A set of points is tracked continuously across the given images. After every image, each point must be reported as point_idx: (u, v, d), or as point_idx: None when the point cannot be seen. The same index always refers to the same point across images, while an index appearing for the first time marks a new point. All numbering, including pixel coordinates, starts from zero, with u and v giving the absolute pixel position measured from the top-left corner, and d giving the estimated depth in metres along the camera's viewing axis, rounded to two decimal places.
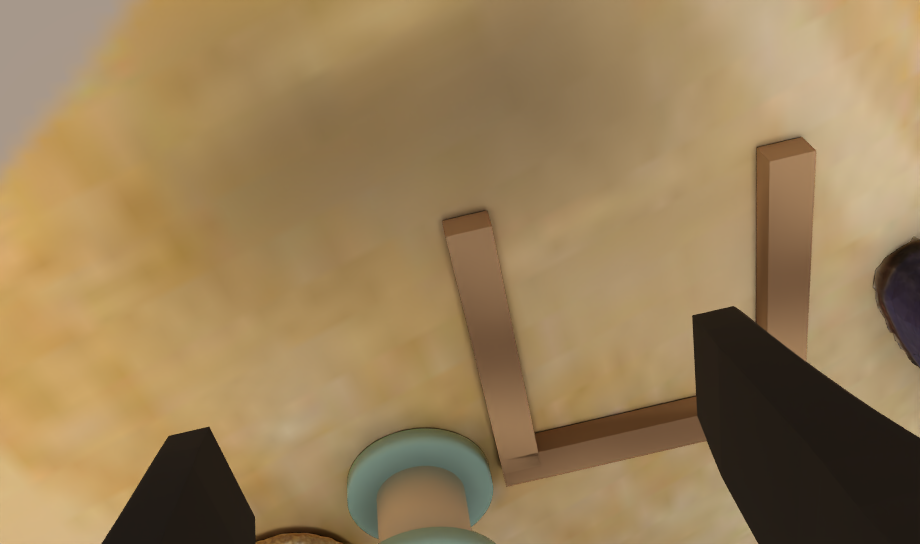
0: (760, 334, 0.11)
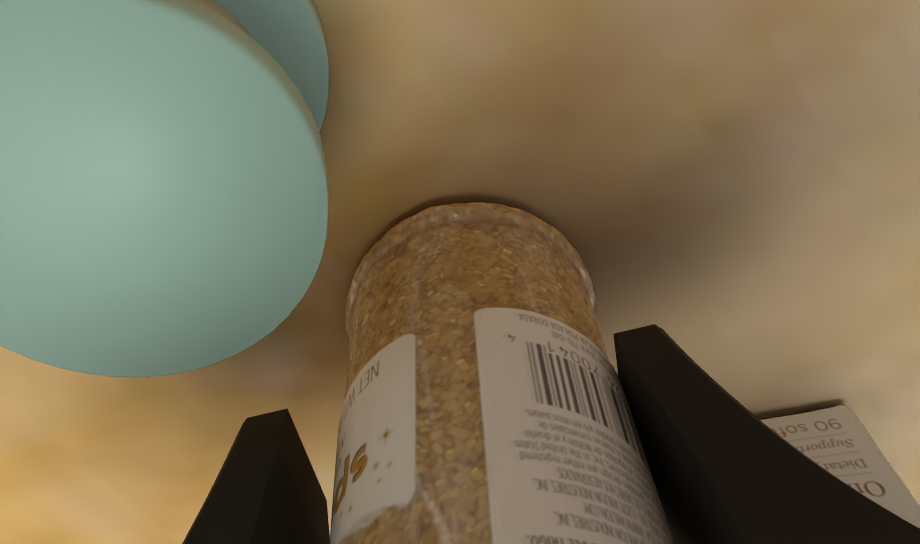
0: (674, 354, 0.11)
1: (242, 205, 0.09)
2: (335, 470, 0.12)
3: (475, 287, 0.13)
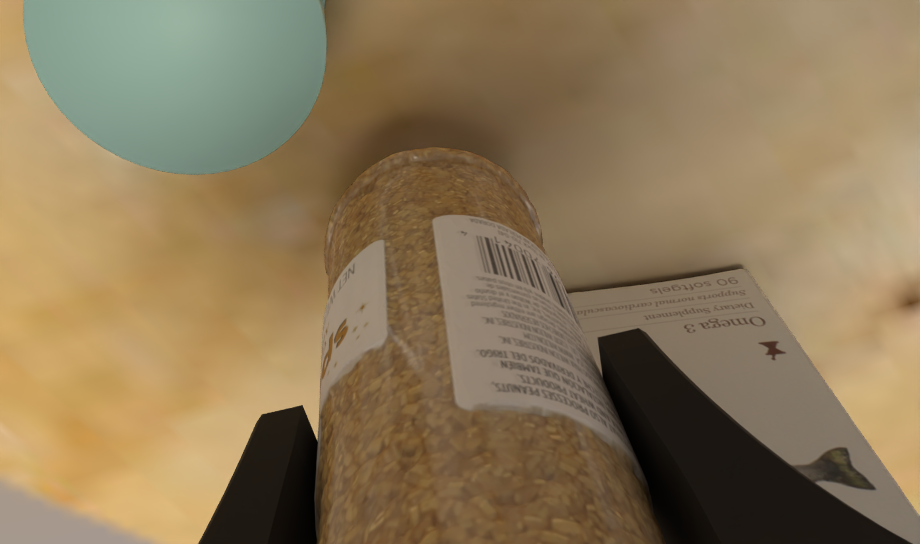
0: (657, 358, 0.11)
1: (268, 41, 0.14)
2: (321, 357, 0.14)
3: (432, 205, 0.15)
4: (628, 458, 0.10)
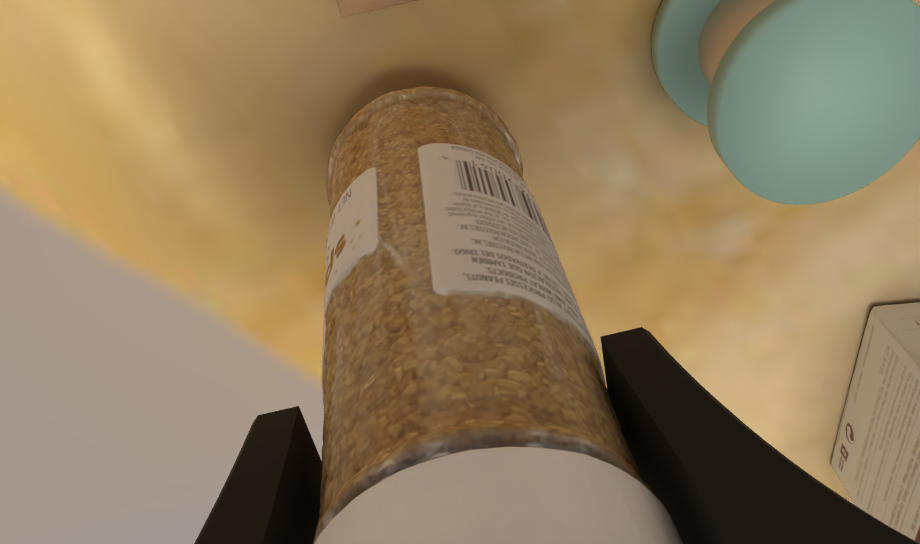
0: (660, 357, 0.11)
1: (896, 102, 0.18)
2: (325, 271, 0.16)
3: (419, 135, 0.17)
4: (580, 334, 0.12)
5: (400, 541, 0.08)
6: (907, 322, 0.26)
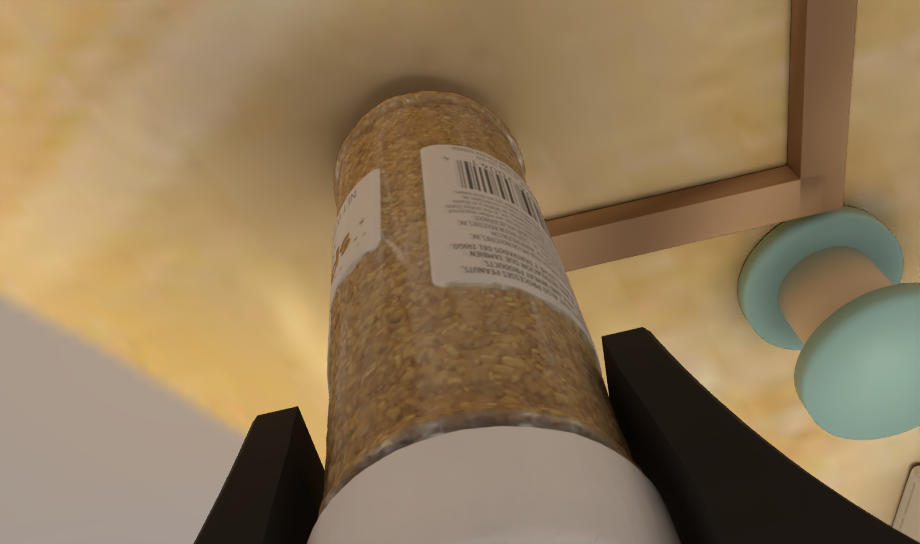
0: (661, 357, 0.11)
1: None
2: None
3: (421, 137, 0.17)
4: (575, 324, 0.13)
5: (396, 514, 0.09)
6: None
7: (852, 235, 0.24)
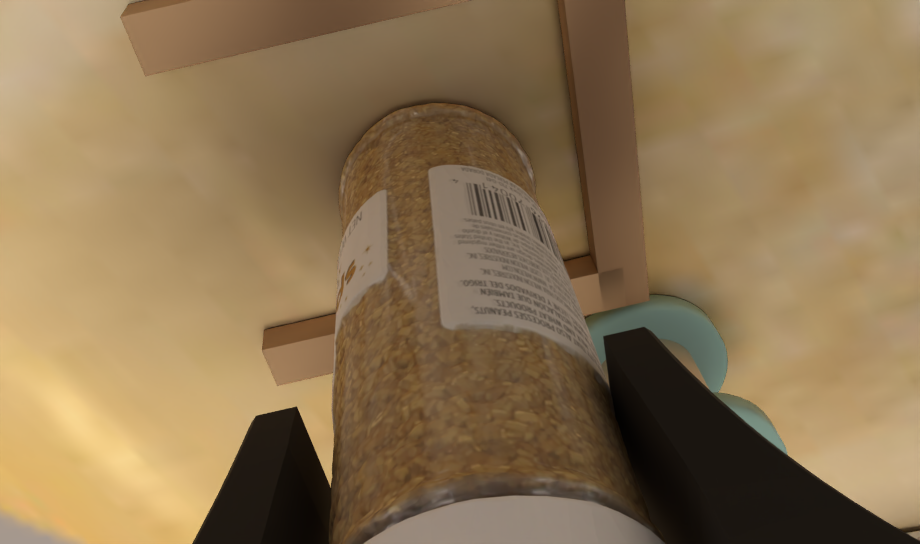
0: (663, 357, 0.11)
1: None
2: None
3: (429, 156, 0.17)
4: (589, 366, 0.12)
5: None
6: None
7: (666, 327, 0.22)
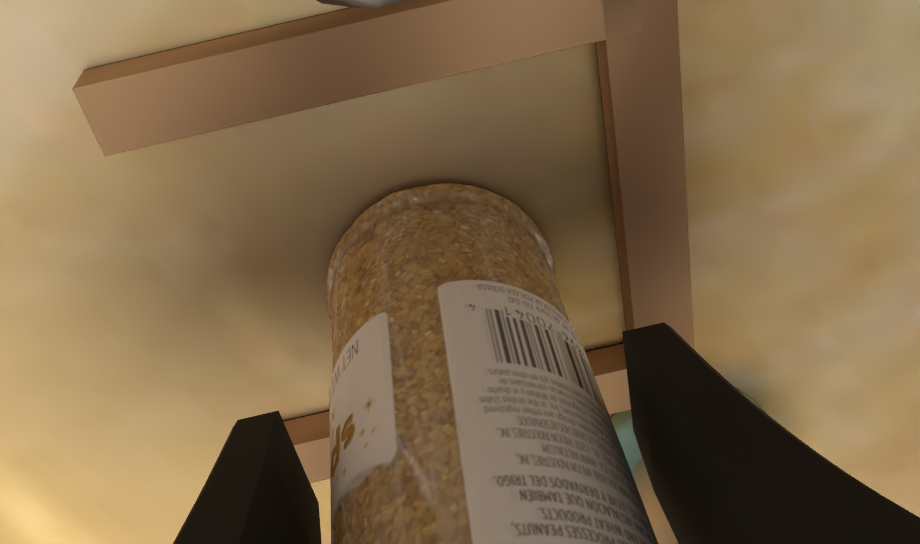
0: (684, 352, 0.11)
1: None
2: None
3: (437, 265, 0.14)
4: None
5: None
6: None
7: None
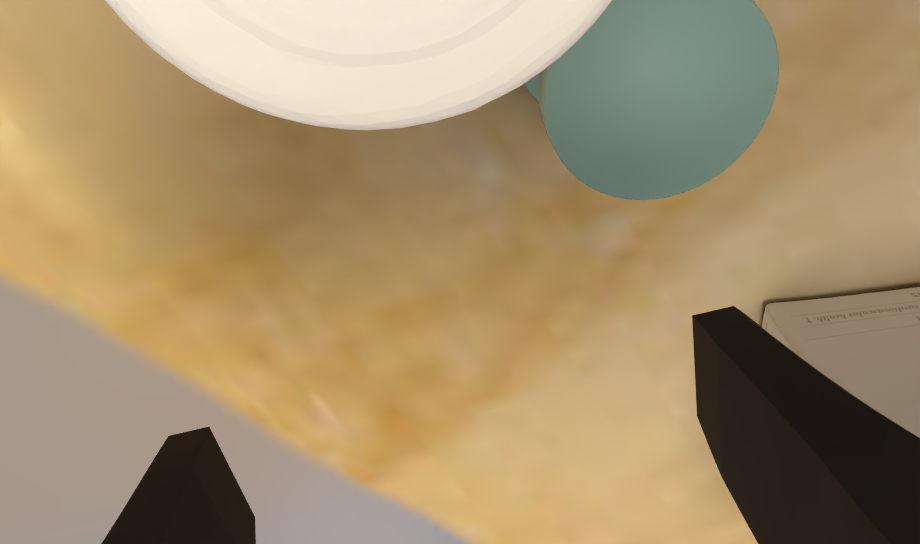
0: (760, 334, 0.11)
1: (731, 92, 0.17)
2: None
3: None
4: None
5: None
6: (798, 320, 0.25)
7: None
